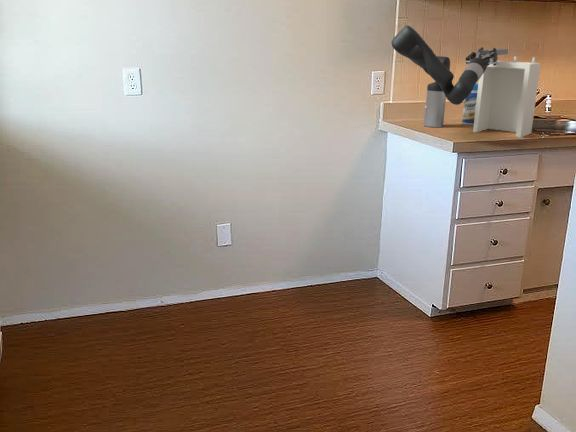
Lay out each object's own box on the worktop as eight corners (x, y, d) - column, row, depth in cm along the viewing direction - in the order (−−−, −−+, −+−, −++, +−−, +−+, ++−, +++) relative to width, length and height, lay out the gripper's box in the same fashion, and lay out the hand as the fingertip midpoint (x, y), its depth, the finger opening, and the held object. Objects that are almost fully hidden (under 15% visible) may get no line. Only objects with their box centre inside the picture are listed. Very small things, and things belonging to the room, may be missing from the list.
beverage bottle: (480, 123, 317) (485, 83, 311) (475, 125, 310) (480, 84, 305) (464, 122, 322) (468, 82, 316) (459, 123, 315) (463, 83, 309)
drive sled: (478, 55, 273) (478, 50, 273) (497, 53, 292) (497, 48, 291) (489, 55, 271) (490, 50, 270) (507, 54, 289) (508, 49, 288)
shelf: (473, 131, 292) (481, 55, 282) (485, 127, 304) (493, 55, 294) (520, 137, 279) (530, 58, 269) (531, 133, 292) (541, 57, 281)
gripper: (459, 77, 273) (473, 56, 282) (491, 79, 265) (505, 57, 274) (457, 62, 268) (472, 41, 277) (490, 64, 260) (504, 42, 269)
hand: (488, 49), depth 275 cm, fingers closed on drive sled, 5 cm apart
